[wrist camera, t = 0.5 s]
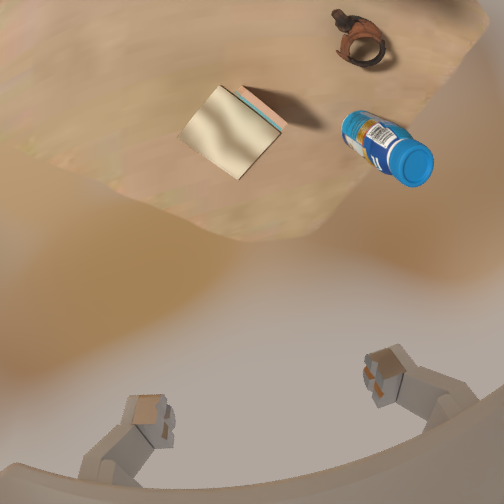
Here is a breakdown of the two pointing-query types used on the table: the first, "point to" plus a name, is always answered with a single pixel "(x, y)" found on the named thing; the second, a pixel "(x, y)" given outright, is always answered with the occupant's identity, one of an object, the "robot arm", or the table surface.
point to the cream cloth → (228, 133)
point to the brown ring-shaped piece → (357, 36)
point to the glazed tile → (261, 108)
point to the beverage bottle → (388, 147)
